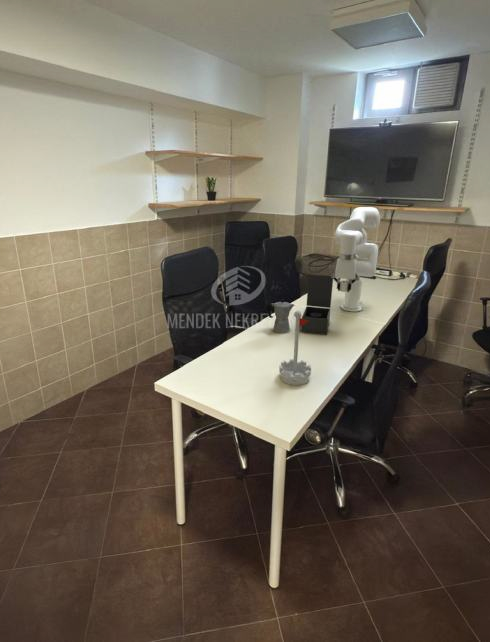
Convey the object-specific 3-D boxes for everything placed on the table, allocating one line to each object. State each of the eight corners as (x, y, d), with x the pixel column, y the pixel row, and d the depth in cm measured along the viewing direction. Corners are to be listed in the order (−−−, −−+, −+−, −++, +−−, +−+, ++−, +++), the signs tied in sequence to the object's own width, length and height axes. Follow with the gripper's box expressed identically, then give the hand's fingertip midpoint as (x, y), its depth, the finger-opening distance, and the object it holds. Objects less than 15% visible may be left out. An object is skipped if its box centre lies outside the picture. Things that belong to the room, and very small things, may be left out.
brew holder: (313, 326, 202) (314, 311, 199) (322, 329, 197) (323, 314, 195) (307, 329, 198) (308, 314, 195) (316, 332, 194) (317, 317, 191)
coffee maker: (326, 334, 191) (327, 319, 188) (301, 331, 195) (302, 316, 192) (329, 322, 207) (330, 308, 204) (305, 320, 211) (306, 306, 208)
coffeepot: (291, 326, 202) (293, 296, 197) (295, 333, 193) (296, 301, 188) (264, 327, 202) (265, 296, 196) (266, 333, 193) (267, 302, 187)
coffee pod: (342, 288, 192) (343, 280, 191) (349, 290, 189) (350, 281, 188) (337, 290, 190) (338, 281, 188) (345, 292, 187) (345, 283, 185)
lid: (333, 275, 201) (333, 275, 205) (308, 274, 205) (309, 273, 209) (330, 307, 203) (331, 306, 208) (306, 305, 208) (307, 304, 212)
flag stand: (289, 389, 141) (292, 319, 132) (273, 373, 153) (275, 308, 143) (316, 382, 146) (321, 313, 137) (299, 367, 158) (302, 303, 148)
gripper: (364, 256, 185) (360, 290, 190) (330, 254, 190) (328, 287, 195) (364, 259, 178) (360, 294, 184) (329, 257, 183) (326, 291, 189)
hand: (343, 290), depth 189 cm, fingers closed on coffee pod, 4 cm apart
